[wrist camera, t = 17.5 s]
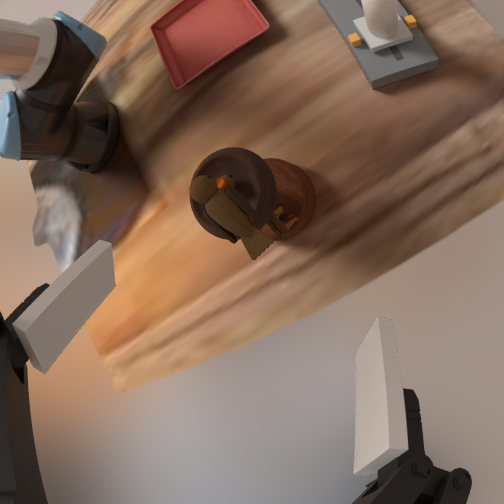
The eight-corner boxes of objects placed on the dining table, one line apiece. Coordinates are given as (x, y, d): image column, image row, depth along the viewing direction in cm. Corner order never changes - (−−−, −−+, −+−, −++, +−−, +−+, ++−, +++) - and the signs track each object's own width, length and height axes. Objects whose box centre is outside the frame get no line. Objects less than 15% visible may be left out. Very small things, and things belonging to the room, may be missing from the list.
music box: (342, 186, 38) (289, 187, 21) (304, 257, 43) (228, 311, 25) (246, 136, 43) (144, 115, 25) (217, 204, 47) (112, 220, 30)
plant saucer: (279, 36, 39) (270, 25, 36) (186, 96, 47) (174, 91, 44) (234, -21, 40) (225, -31, 37) (159, 33, 47) (148, 27, 44)
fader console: (436, 68, 30) (440, 53, 26) (372, 89, 35) (370, 76, 31) (347, -46, 31) (342, -63, 27) (295, -28, 35) (286, -43, 31)
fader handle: (413, 40, 28) (414, -27, 16) (372, 53, 31) (358, -13, 18) (392, 11, 28) (383, -57, 16) (353, 24, 31) (331, -43, 18)
